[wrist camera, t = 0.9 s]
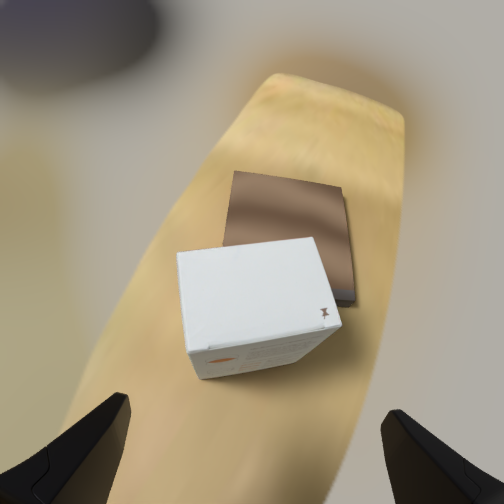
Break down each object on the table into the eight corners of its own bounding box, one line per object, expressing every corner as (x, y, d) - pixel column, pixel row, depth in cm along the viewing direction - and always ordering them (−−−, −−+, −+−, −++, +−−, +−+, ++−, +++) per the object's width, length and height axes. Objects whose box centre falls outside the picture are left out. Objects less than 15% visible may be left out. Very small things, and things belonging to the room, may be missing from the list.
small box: (280, 302, 26) (316, 233, 17) (295, 364, 23) (347, 325, 14) (187, 315, 25) (174, 247, 16) (197, 381, 22) (185, 353, 13)
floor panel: (348, 307, 27) (355, 300, 25) (216, 293, 26) (217, 286, 25) (336, 196, 34) (341, 187, 33) (233, 180, 33) (234, 170, 32)
